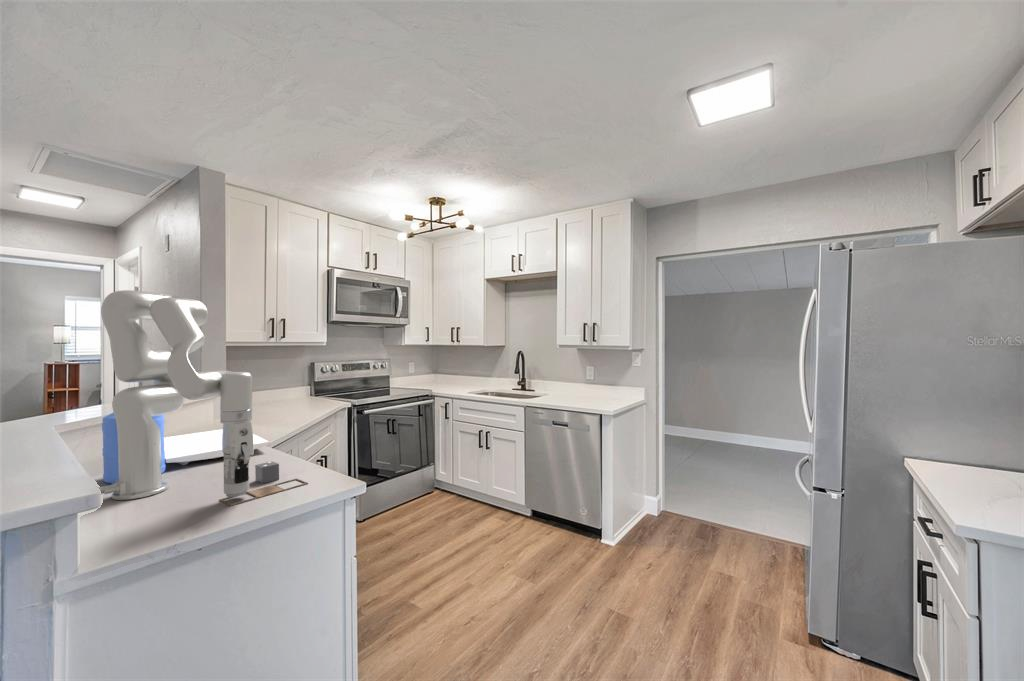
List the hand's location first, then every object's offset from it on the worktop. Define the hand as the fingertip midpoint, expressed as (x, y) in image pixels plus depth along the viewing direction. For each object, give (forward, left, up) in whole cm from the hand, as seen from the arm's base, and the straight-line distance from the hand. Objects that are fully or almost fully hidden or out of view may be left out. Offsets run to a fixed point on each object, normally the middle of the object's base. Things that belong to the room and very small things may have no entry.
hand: (236, 479), depth 119 cm
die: (+12, +10, -6) cm, 17 cm away
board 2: (+7, -1, -6) cm, 9 cm away
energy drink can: (0, 0, -4) cm, 4 cm away
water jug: (-12, +52, -6) cm, 54 cm away
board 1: (+15, +70, -6) cm, 72 cm away
